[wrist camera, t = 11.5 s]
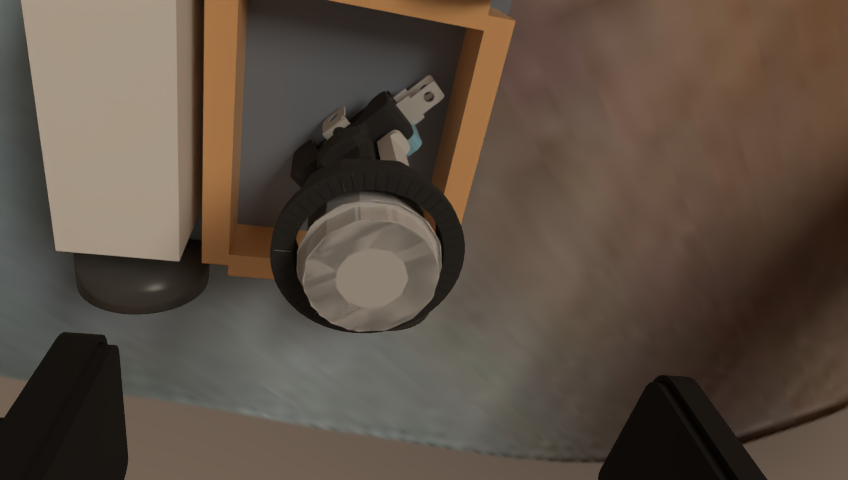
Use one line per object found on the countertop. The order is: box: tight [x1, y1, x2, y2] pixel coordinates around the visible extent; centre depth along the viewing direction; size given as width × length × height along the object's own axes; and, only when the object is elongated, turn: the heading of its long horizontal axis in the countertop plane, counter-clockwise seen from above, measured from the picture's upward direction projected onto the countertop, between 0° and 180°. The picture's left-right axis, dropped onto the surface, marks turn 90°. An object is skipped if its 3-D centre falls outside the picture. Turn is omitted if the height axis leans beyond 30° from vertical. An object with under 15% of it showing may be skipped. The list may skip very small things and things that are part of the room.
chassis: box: [21, 0, 515, 331], centre depth 21 cm, size 16×15×6 cm
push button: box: [270, 75, 465, 333], centre depth 19 cm, size 7×5×10 cm
